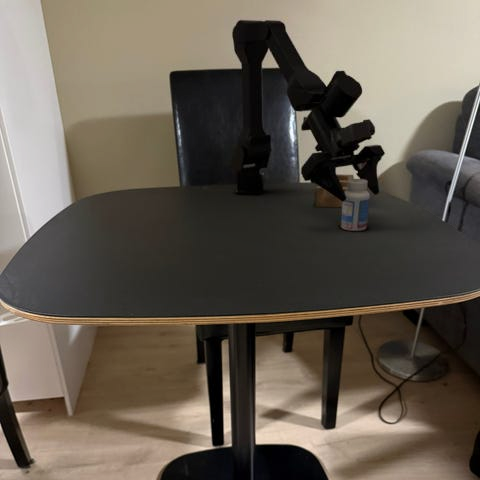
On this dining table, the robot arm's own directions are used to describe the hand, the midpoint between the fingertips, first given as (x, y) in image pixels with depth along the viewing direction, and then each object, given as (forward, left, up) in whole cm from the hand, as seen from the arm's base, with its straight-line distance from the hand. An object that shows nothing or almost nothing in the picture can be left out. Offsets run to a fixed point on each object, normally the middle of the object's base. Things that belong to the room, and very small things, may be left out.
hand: (361, 196), depth 97 cm
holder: (-5, +25, -7) cm, 26 cm away
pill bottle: (-1, +1, -7) cm, 7 cm away
